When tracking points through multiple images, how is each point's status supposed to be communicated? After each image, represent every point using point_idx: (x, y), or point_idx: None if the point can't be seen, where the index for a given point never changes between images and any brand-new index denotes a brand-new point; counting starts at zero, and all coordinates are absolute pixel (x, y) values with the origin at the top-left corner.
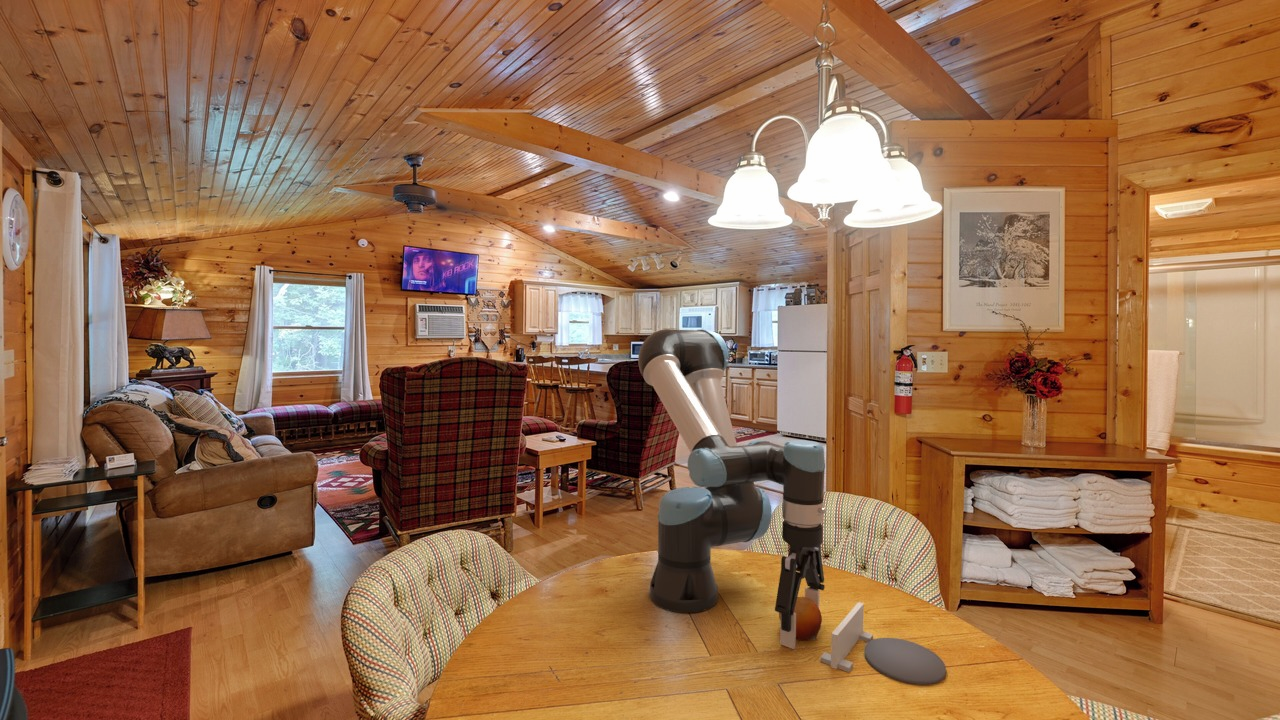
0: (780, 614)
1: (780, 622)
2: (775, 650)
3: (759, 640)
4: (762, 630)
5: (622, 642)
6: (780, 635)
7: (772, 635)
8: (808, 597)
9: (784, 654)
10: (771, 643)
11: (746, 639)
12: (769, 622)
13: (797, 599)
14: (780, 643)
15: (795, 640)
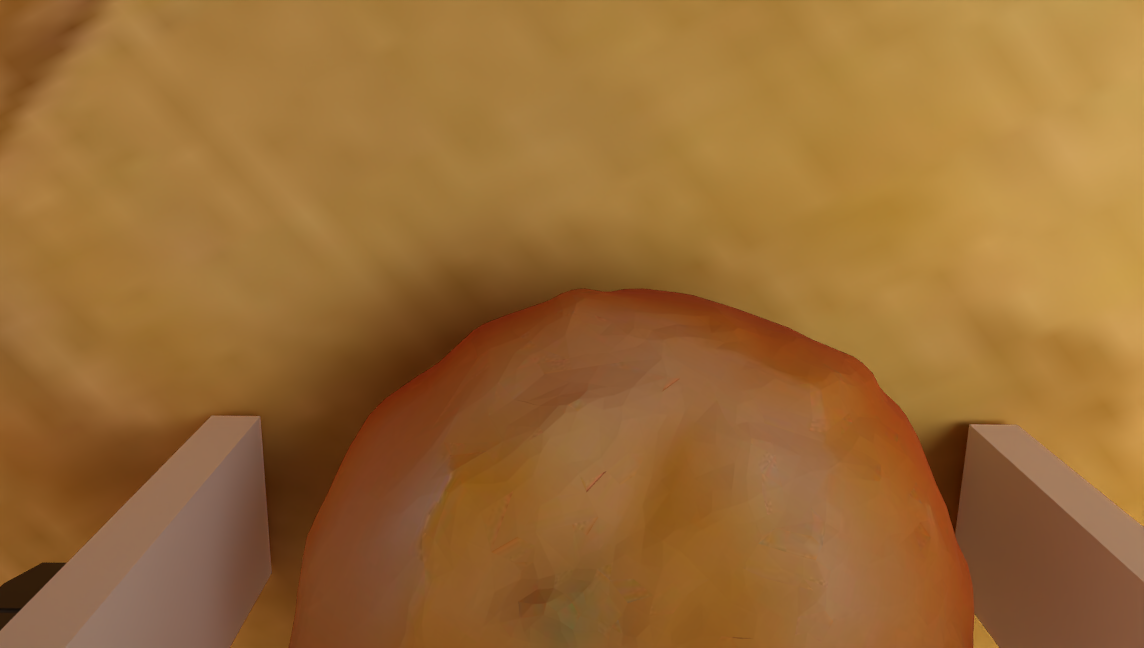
0: (454, 374)
1: (86, 543)
2: (81, 413)
3: (131, 171)
4: (378, 92)
5: None
6: (167, 463)
7: (356, 250)
8: (1137, 642)
9: (86, 518)
10: (180, 317)
11: (23, 22)
12: (638, 76)
13: None
14: (211, 423)
15: (239, 621)
